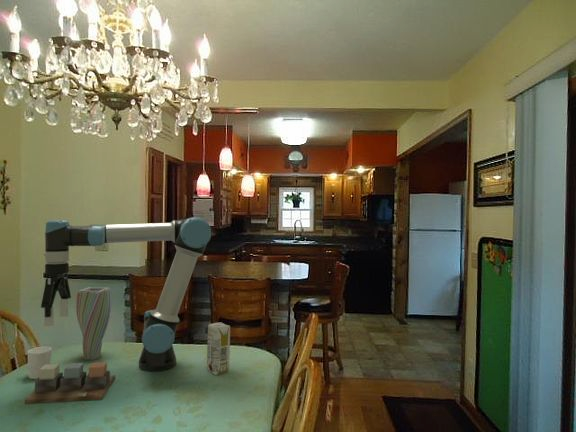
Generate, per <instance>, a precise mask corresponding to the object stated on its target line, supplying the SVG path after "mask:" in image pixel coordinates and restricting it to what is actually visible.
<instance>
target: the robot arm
mask: <svg viewBox="0 0 576 432" xmlns="http://www.w3.org/2000/svg"><path fill="white" fill-rule="evenodd" d="M44 236H45V237H44V240H45V244H44V245H45V246H44V247H45V253H44V254H43V256H44V260H45V261H44V262H45V264H44V274H45V275H49V278H45V282H44V283H45V285H44V289H43V294H42V299H41V304H40V308H42V309H43V313H44V314H43V315H44V316H43V321H44V322H43V327H53V326H54V323H55V322H54V318H55V317H54V316H55V315H54V314H55V313H54V309H55V308H54V306H53V304H54V302H55V298H56V296H57V292H58V294H59V297H60V299H59V317H61V318H62V317H63V318H64V317H69V299H71V298H72V296H71V290H70V285H69V280H68V279H69V277H68V273H69V272H70V268H69V267H70V265H69V261H70V247H99V246H100V247H102V246H103V245H105V244H113V243H142V242H166V241H168V242H169V241H171V242H173V243H174V247H175V248H174V249H175V250H176V252H175V255H174V258H173V260H172V263H171V266H170V269H169V272H168V275H167V277H166V279H165V283H164V286H163V289H162V291H161V293H160V296H159V298H158V302H157V304H156V308H155V309H150V310H146V311H145V312H144V316H143V321H144V322H143V330H142V335H141V343H142V345H143V348H142V351H141V354H140V356H139V359H138V364H137V365H138V368H139V369H140V370H142V371H148V372H159V371H166V370H169V369H171V368H173V367H175V366H176V364H177V357H176V353H175V351H174V347H173V344H174V342H175V337H176V336H175V335H176V331H177V330H178V326H179V323H180V318H179V316H178V314H179V311H180V309H181V306H182V302H183V300H184V297H185V294H186V292H187V289H188V286H189V283H190V280H191V277H192V276H193V275H192V274H193V272H194V269H195V267H196V263H197V262H198V261H197V260H198V258H199V257H201V256H203V255H204V252H205V249H206V247H207V244H208V243H209V241H211V238H212V230H211V226H210V224H209V223H208V221H207V220H205V219H204V218H202V217H198V216H194V217H193V216H191V217H188V218H184V219H173V220H172V221H170V222H152V223H151V222H149V223H143V222H142V223H120V224H117V223H116V224H90V225H70V222H69V221H68V220H48V221H46V223H45V232H44Z"/></svg>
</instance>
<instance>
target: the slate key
mask: <svg viewBox="0 0 576 432" xmlns="http://www.w3.org/2000/svg"><path fill="white" fill-rule="evenodd" d="M83 372H84V362H82V363H80V362H78V363H68V364H67V365H66V366H65V367H64V371H63V376H64V379H69V378H80V377H81V376H82V374H83Z"/></svg>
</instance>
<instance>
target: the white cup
mask: <svg viewBox="0 0 576 432" xmlns="http://www.w3.org/2000/svg"><path fill="white" fill-rule="evenodd" d="M51 358H52V347H50V346H39V347H38V346H37V347H33V348H31V349H28V350H27V371H28V378H29V379H30V380H36V379H37V378H38V377H39V369H41V368H42V367H43V366H44V365H47V364H51V362H52V361H51V360H52V359H51Z"/></svg>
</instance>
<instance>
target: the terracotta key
mask: <svg viewBox="0 0 576 432" xmlns="http://www.w3.org/2000/svg"><path fill="white" fill-rule="evenodd" d="M107 367H108V362H106V361H105V362H104V361H102V362H92V364H91V365H90V366H89V367H88V374H89V378H93V377H104V376H105V375H106V373H107V371H108V370H107V369H108V368H107Z"/></svg>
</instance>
